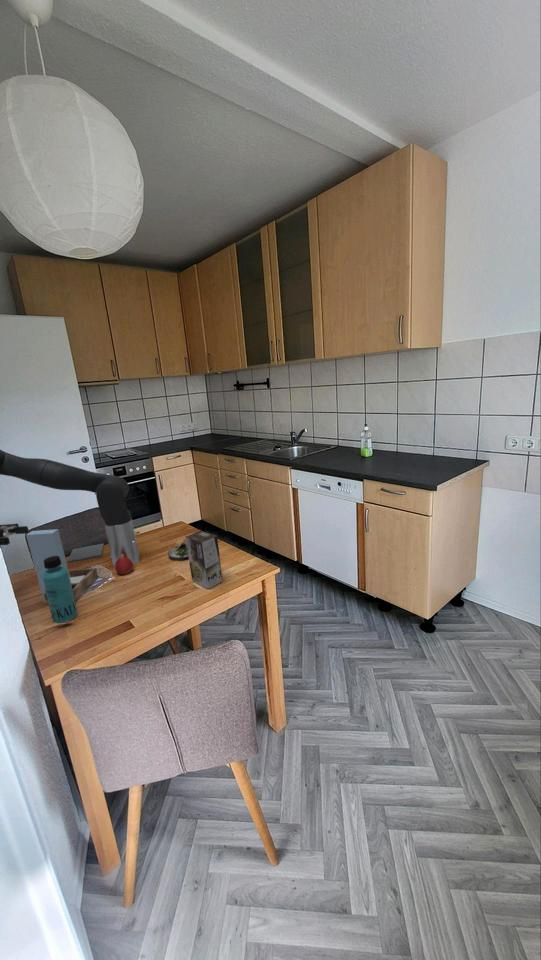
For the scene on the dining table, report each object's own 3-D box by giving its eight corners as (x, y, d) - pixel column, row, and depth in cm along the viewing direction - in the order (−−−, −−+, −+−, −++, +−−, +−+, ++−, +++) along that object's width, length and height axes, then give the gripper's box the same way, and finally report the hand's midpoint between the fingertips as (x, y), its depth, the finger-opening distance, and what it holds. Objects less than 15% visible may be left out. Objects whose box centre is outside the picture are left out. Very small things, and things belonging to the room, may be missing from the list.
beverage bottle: (60, 616, 112) (44, 554, 107) (83, 613, 113) (68, 551, 108) (49, 630, 106) (32, 565, 101) (74, 627, 106) (58, 562, 101)
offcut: (67, 583, 128) (66, 578, 128) (86, 580, 129) (85, 575, 129) (63, 591, 124) (61, 585, 123) (82, 587, 125) (81, 582, 124)
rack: (73, 582, 132) (70, 569, 130) (98, 581, 131) (96, 568, 130) (46, 609, 116) (42, 595, 115) (74, 608, 116) (71, 593, 115)
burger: (184, 564, 139) (181, 545, 137) (161, 558, 145) (158, 540, 143) (205, 550, 149) (203, 533, 147) (184, 545, 155) (181, 528, 153)
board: (45, 606, 118) (26, 534, 112) (50, 601, 121) (32, 530, 115) (70, 605, 118) (52, 533, 112) (75, 599, 121) (58, 529, 115)
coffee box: (223, 581, 125) (218, 535, 120) (208, 589, 120) (201, 542, 116) (206, 573, 131) (200, 529, 127) (191, 581, 126) (184, 536, 122)
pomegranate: (118, 581, 130) (113, 560, 128) (116, 574, 135) (112, 554, 133) (135, 576, 132) (131, 555, 130) (133, 569, 137) (129, 549, 135)
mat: (104, 544, 162) (103, 543, 162) (101, 556, 151) (101, 554, 151) (73, 550, 159) (72, 549, 159) (68, 562, 148) (67, 561, 148)
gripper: (-57, 535, 109) (-2, 532, 108) (-19, 517, 122) (30, 515, 122) (-49, 559, 111) (4, 557, 110) (-13, 539, 124) (35, 537, 124)
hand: (18, 535), depth 116 cm, fingers open, 8 cm apart
